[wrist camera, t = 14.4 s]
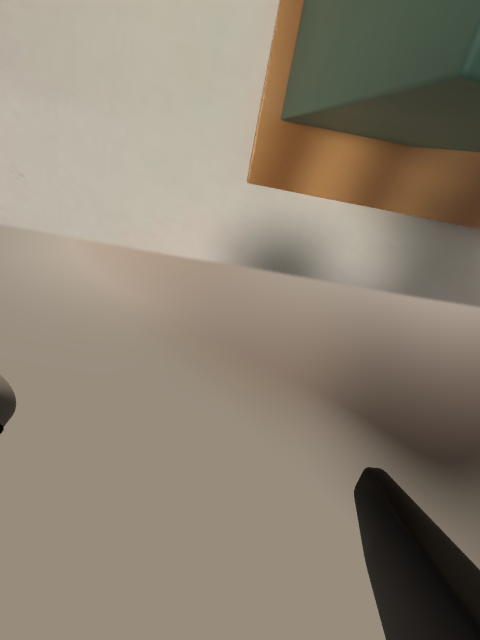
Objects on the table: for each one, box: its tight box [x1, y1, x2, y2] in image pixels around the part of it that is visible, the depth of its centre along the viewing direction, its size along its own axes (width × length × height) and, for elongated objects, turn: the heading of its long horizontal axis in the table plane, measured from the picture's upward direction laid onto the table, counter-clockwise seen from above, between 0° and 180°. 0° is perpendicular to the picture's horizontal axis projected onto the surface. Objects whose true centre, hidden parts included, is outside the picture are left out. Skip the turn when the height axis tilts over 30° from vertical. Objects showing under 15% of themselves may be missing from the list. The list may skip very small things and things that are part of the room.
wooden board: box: [247, 0, 480, 229], centre depth 16 cm, size 14×10×1 cm
